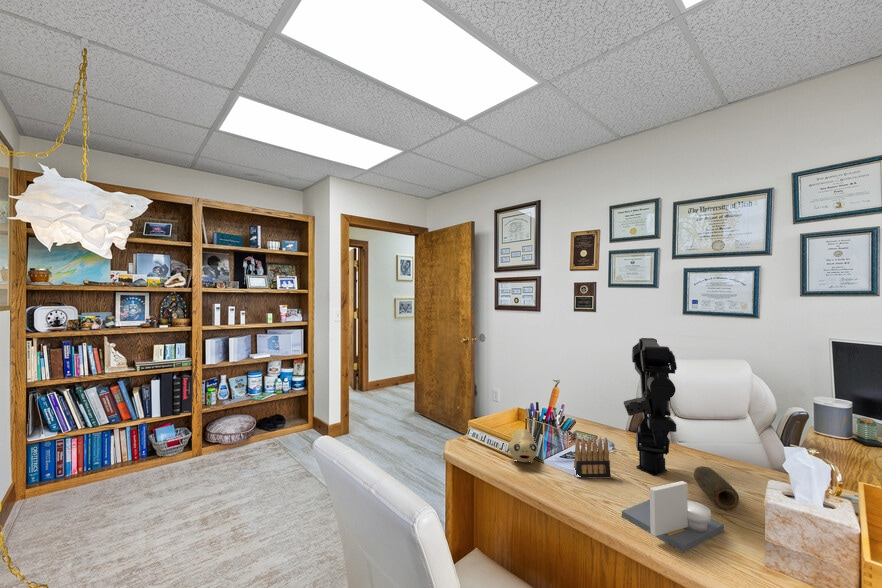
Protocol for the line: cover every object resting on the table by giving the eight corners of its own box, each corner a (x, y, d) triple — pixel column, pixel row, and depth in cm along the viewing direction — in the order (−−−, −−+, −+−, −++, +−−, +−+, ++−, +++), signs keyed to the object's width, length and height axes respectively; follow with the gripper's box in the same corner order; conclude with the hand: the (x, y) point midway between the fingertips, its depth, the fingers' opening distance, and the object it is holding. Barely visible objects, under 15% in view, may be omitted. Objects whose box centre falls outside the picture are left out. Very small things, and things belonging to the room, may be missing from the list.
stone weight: (746, 514, 94) (745, 488, 94) (714, 511, 96) (714, 485, 96) (715, 485, 109) (715, 462, 109) (688, 483, 110) (688, 460, 110)
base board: (621, 516, 94) (621, 502, 94) (661, 500, 101) (660, 487, 101) (683, 552, 80) (683, 536, 80) (724, 530, 88) (723, 515, 88)
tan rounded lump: (510, 469, 120) (509, 436, 120) (507, 454, 132) (506, 424, 132) (541, 471, 119) (540, 437, 119) (535, 455, 131) (535, 424, 131)
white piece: (691, 512, 91) (690, 471, 92) (717, 527, 85) (717, 484, 86) (640, 526, 86) (640, 482, 86) (665, 543, 80) (664, 496, 80)
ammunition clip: (608, 474, 116) (607, 436, 116) (610, 477, 114) (610, 438, 114) (573, 475, 116) (573, 436, 116) (576, 478, 114) (575, 438, 114)
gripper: (623, 381, 117) (624, 431, 117) (627, 396, 100) (628, 454, 100) (663, 384, 113) (665, 436, 113) (676, 400, 96) (677, 461, 95)
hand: (658, 446), depth 105 cm, fingers closed
